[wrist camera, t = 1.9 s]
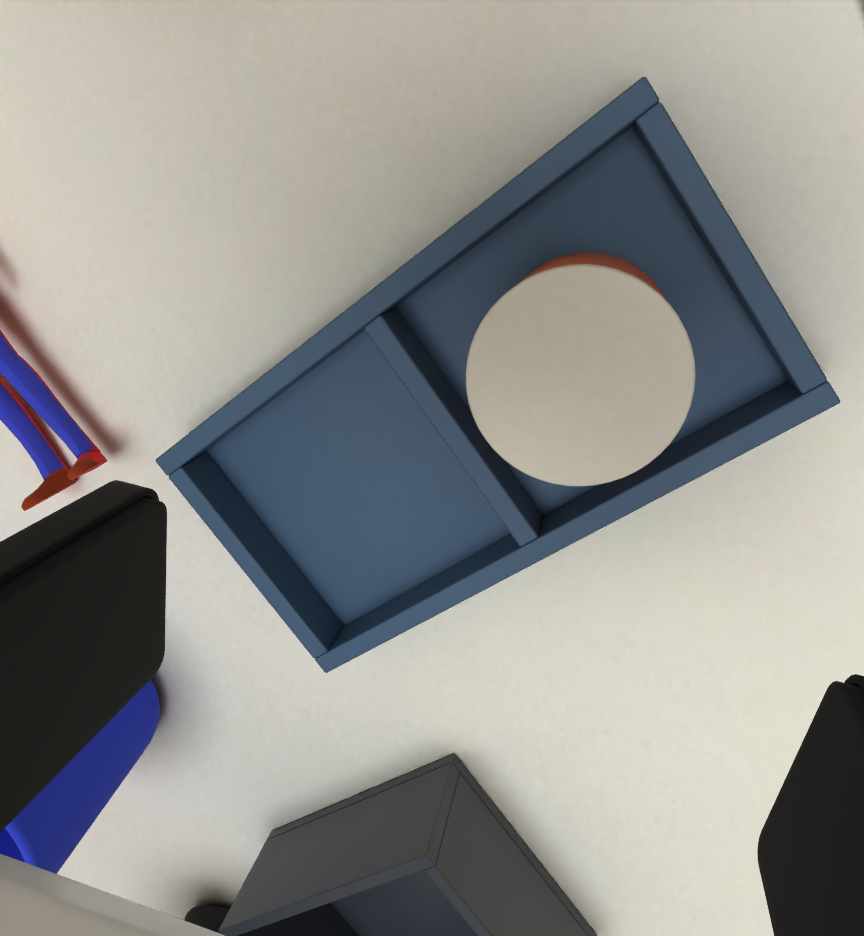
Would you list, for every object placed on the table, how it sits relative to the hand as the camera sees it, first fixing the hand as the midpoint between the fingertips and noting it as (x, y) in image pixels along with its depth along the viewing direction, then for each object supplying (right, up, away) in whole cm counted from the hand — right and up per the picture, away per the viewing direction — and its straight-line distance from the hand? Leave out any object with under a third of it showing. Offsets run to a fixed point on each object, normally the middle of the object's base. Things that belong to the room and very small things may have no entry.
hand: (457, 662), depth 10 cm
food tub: (+5, +7, +14) cm, 17 cm away
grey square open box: (0, -18, +26) cm, 32 cm away
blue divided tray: (+1, +5, +17) cm, 18 cm away
